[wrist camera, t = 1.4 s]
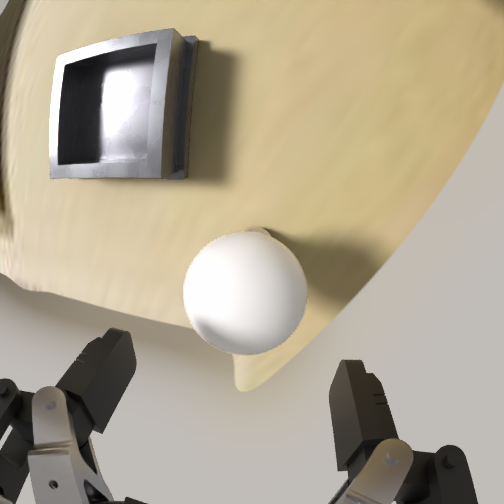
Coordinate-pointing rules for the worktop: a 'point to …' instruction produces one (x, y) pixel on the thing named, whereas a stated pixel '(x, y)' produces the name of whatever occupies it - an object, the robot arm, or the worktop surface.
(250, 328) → the lightbulb
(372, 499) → the robot arm
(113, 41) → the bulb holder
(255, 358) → the worktop surface
